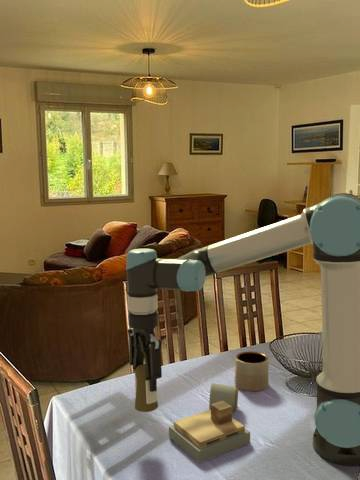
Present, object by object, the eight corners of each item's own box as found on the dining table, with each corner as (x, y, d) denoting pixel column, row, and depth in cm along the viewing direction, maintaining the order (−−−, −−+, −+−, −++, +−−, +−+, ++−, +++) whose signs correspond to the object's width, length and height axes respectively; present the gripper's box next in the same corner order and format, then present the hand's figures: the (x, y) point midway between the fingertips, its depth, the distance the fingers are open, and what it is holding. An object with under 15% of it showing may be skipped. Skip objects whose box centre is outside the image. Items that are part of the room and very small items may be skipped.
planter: (273, 382, 166) (274, 355, 164) (260, 395, 157) (260, 366, 155) (243, 375, 172) (243, 348, 170) (228, 387, 163) (229, 359, 161)
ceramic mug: (237, 416, 144) (237, 391, 143) (208, 414, 145) (208, 389, 144) (238, 400, 154) (238, 376, 153) (211, 398, 155) (211, 374, 154)
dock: (250, 442, 130) (250, 432, 130) (199, 462, 122) (199, 451, 121) (217, 420, 142) (217, 410, 141) (168, 436, 133) (168, 426, 133)
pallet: (244, 431, 130) (244, 426, 130) (200, 448, 123) (200, 442, 122) (216, 412, 140) (216, 407, 140) (174, 426, 133) (174, 421, 132)
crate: (231, 420, 133) (232, 406, 132) (219, 424, 131) (219, 410, 130) (222, 414, 136) (222, 400, 135) (210, 418, 134) (210, 404, 133)
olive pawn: (149, 414, 126) (147, 372, 124) (129, 408, 129) (128, 367, 128) (162, 404, 131) (161, 363, 130) (143, 399, 134) (142, 359, 133)
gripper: (175, 316, 121) (177, 407, 124) (139, 300, 136) (142, 382, 139) (147, 322, 117) (150, 416, 120) (113, 305, 132) (117, 389, 135)
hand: (146, 397), depth 130 cm, fingers closed on olive pawn, 5 cm apart
